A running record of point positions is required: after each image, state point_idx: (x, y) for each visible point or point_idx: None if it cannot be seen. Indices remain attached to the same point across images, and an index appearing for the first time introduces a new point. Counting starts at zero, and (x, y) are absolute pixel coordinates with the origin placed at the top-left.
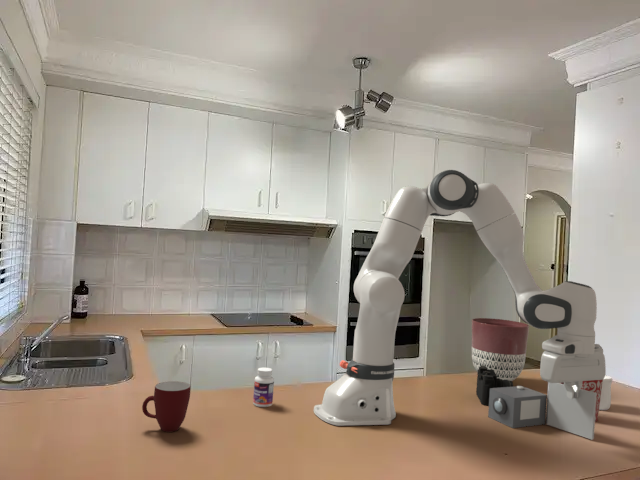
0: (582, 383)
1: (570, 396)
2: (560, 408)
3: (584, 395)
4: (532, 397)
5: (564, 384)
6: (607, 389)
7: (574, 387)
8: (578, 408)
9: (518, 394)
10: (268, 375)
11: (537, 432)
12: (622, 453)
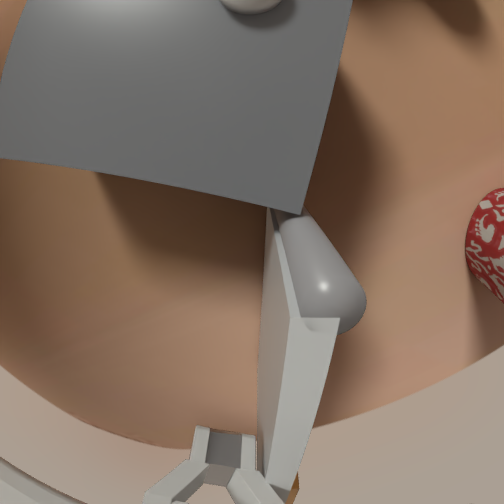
0: None
1: (191, 447)
2: (267, 304)
3: None
4: (125, 174)
5: (148, 491)
6: None
7: (244, 496)
8: (261, 406)
9: (63, 97)
10: None
11: (136, 223)
12: (237, 429)
